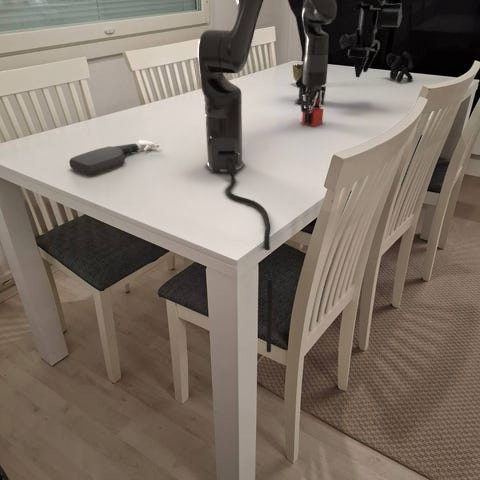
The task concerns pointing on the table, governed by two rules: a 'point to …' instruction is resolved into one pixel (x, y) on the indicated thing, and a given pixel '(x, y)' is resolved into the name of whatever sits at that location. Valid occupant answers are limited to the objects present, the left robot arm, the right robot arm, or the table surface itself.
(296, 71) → the cup
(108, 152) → the spray bottle
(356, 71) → the right robot arm
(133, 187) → the table surface
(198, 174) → the table surface
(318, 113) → the block
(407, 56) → the squiggle
